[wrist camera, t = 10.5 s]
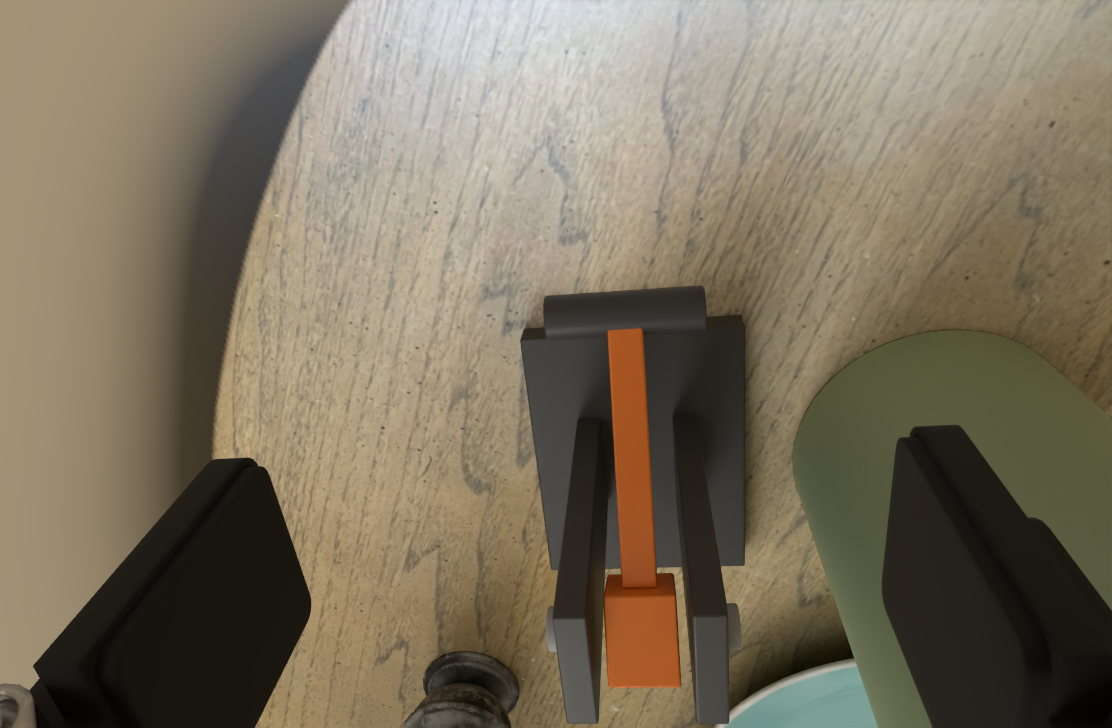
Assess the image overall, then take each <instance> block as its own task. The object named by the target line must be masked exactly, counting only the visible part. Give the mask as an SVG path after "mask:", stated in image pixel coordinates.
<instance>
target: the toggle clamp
mask: <svg viewBox="0 0 1112 728" xmlns="http://www.w3.org/2000/svg"><path fill="white" fill-rule="evenodd" d="M643 338H644V355H645V373H646V391H647V408H648V426H649V444H650V461H651V479H652V497H653V514H654V532H655V550H656V567H657V568H659V567H682V572H683V582H684V593H685V604H686V615H687V626H688V637H689V648H690V659H691V670H692V681H693V692H694V703H695V714H696V722H697V724H729V651H739V650H741V625H740V616H739V610H738V606H737V604H735V603H726V598H725V591H724V585H723V579H722V573H721V566H743V565H744V564H745V325H744V322H743V320H742V317H741V316H740V315H737V316H721V317H707V325H706V331H703V332H686V333H670V334H653V335H643ZM520 342H521V350H522V357H523V364H524V372H525V379H526V387H527V394H528V401H529V409H530V416H531V424H532V431H533V438H534V446H535V453H536V461H537V468H538V475H539V483H540V490H541V497H542V505H543V512H544V520H545V527H546V534H547V542H548V549H549V557H550V564H551V569H552V570H558V577H557V585H556V593H555V601H554V606H550V607H549V608H548V610H547V616H546V641H547V647H548V650H549V652H557V655H558V662H559V669H560V677H561V684H562V691H563V698H564V705H565V712H566V720H567V723H569V724H597V723H598V721H599V699H600V676H601V653H602V630H603V608H604V603H603V597H604V585H605V569H614V568H621V561H620V544H619V526H618V509H617V491H616V473H615V456H614V438H613V421H612V403H611V385H610V368H609V350H608V337H604V338H587V339H570V340H554V341H549V340H547V337H546V334H545V328H529V329H524V331H523V334H522V337H521V340H520Z"/></svg>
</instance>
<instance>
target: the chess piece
mask: <svg viewBox="0 0 1112 728" xmlns="http://www.w3.org/2000/svg"><path fill="white" fill-rule="evenodd" d="M423 685H424V691H425V693H426V697H425V698H424V700H423V701H422V702H421V703H420V704H419V705H418V707H417V708H416V709H415V711H414V712H413V713H411V715H410V716H409V717H408V718H407V720H406V721H405V722H404V725H403V728H511V725H510V721H509V718H508V715H507V714H509V713H510V711H511V710H512V709H513V708H514V707H515V705H516V703H517V700H518V697H519V687H518V684H517V681H516V678H515V677H514V675H513V674H512V673H511V671H510V670H509V669H508V668H507V667H505V666H504V665H503V664H502V663H501V662H499V661H497V660H495V659H493V658H491V657H489V656H486V655H482V654H479V653H473V652H456V653H450V654H447V655H444V656H441V657H440V658H438V659H437V660H435V661H434V662H432V663H431V665H430V666H429V667H428V668H427V670H426V673H425V676H424V679H423Z"/></svg>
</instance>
